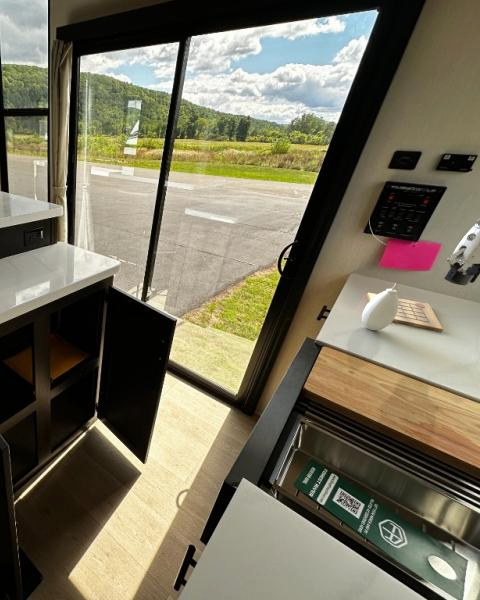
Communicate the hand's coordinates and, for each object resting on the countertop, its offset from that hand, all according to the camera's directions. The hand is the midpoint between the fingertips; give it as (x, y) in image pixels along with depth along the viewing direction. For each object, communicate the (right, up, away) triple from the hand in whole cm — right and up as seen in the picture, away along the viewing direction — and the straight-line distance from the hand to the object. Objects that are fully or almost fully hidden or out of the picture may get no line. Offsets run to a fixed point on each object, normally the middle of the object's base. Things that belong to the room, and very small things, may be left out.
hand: (458, 280), depth 97 cm
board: (+2, -11, +19) cm, 22 cm away
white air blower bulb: (-16, -16, +12) cm, 26 cm away
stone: (0, 0, 0) cm, 1 cm away
